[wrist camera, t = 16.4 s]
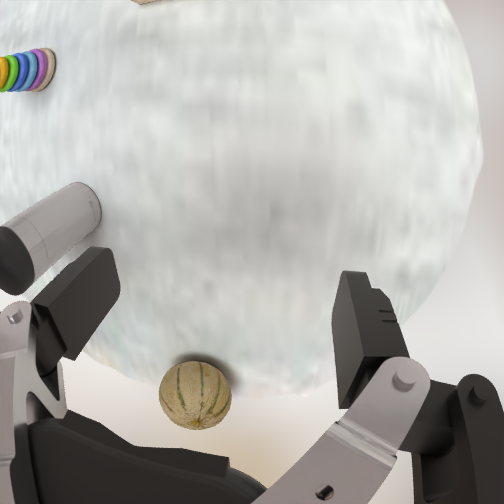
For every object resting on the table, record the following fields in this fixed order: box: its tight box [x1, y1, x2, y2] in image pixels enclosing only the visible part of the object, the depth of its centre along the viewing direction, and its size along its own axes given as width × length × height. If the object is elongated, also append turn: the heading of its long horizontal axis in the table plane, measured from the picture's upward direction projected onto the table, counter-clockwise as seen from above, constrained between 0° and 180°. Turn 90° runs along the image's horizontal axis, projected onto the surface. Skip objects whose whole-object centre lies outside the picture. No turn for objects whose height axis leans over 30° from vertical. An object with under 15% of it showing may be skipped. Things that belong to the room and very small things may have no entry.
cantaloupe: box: [159, 361, 232, 430], centre depth 53 cm, size 15×15×15 cm
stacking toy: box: [0, 48, 55, 92], centre depth 24 cm, size 8×8×19 cm
